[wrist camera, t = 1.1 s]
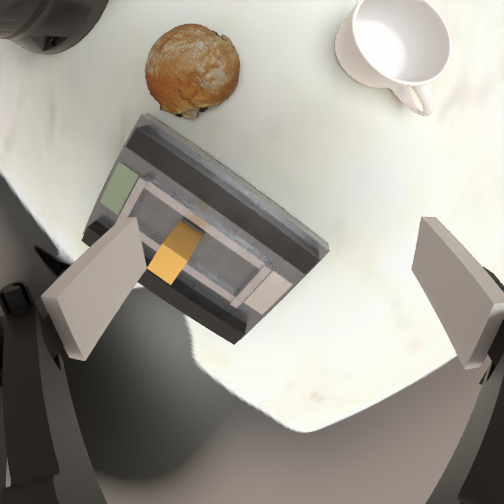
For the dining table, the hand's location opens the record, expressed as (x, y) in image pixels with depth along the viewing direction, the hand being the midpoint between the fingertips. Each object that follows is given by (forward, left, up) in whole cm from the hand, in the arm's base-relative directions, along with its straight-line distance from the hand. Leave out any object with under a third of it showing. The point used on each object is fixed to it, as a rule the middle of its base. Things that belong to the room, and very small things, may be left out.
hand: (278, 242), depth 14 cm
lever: (-3, -14, -20) cm, 25 cm away
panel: (-2, -14, -22) cm, 26 cm away
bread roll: (-13, +2, -23) cm, 26 cm away
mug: (+2, +15, -23) cm, 27 cm away
